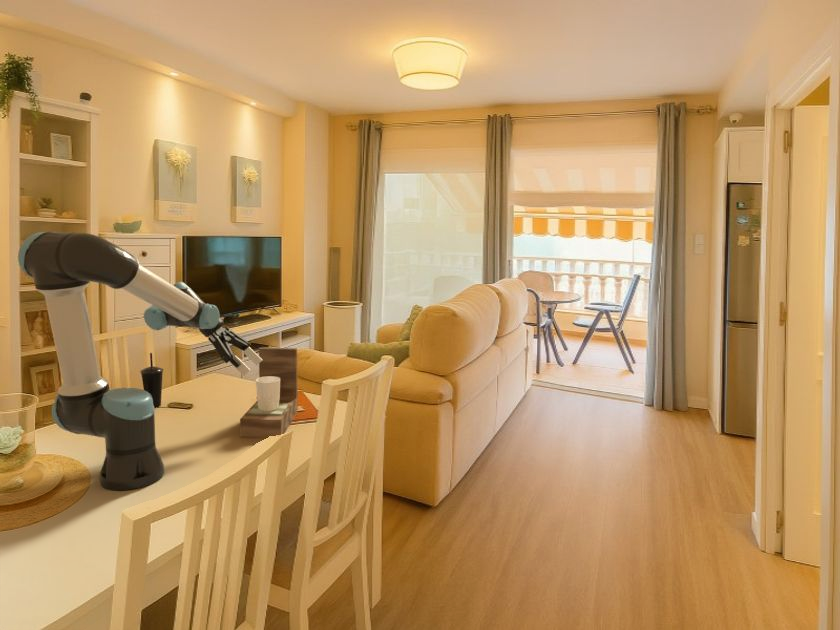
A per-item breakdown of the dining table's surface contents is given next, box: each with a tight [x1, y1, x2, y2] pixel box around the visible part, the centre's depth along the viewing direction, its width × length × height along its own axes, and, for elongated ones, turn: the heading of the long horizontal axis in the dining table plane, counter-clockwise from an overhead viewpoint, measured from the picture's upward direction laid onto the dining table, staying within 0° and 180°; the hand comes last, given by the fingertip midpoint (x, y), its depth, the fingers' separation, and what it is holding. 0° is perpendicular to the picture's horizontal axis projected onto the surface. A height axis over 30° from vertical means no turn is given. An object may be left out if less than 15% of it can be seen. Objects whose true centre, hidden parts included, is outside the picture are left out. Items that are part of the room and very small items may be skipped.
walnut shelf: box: [239, 347, 299, 439], centre depth 187 cm, size 24×13×24 cm, turn 0°
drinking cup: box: [139, 352, 164, 409], centre depth 203 cm, size 8×8×20 cm
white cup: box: [255, 376, 280, 411], centre depth 185 cm, size 8×8×10 cm
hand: (253, 367), depth 184 cm, fingers open, 13 cm apart
